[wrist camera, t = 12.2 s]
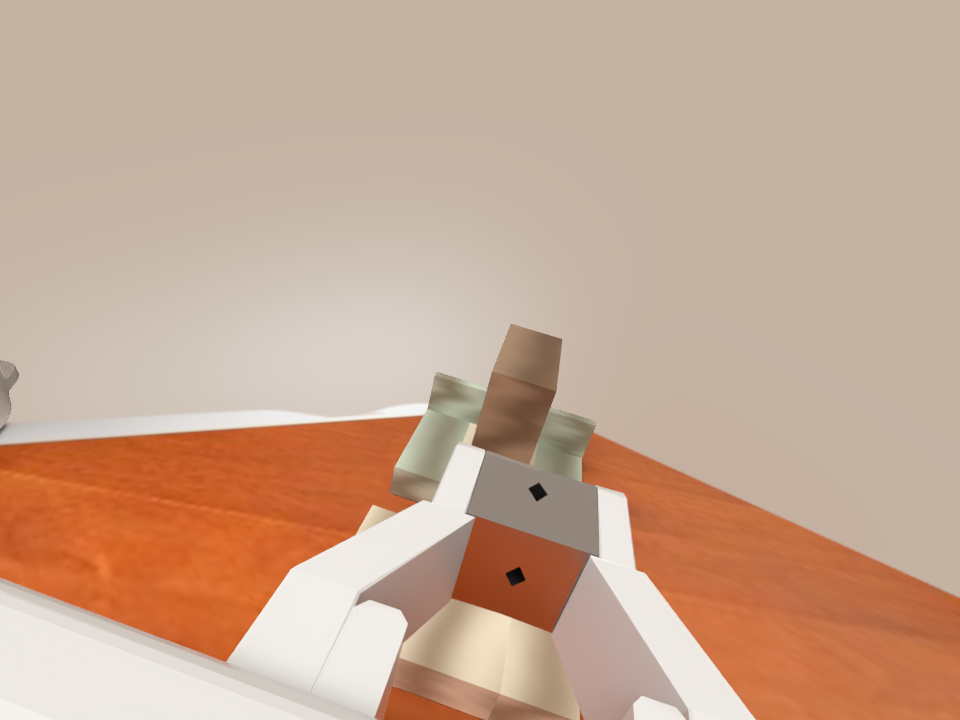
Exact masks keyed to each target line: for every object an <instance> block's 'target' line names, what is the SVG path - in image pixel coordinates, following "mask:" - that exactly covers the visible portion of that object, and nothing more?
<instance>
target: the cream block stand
mask: <svg viewBox="0 0 960 720" xmlns="http://www.w3.org/2000/svg"><path fill="white" fill-rule="evenodd" d="M486 392H487V387H484V386H481V385H477V384H474V383H471V382H468V381H464V380H461V379H458V378H455V377H452V376H448V375H445V374H442V373H439V372H437V373H436V375H435V377H434V382H433V387H432V391H431V396H430V401H429V405H428V409H427V411H426V413H425V415H424V416H423V418H422V420H421V422H420V423H419V425H418V427H417V429H416V430H415V432H414V434H413V436H412V437H411V439H410V441H409V443H408V444H407V446H406V448H405V450H404V451H403V453H402V455H401V457H400V458H399V460H398V462H397V464H396V465H395V467H394V473H393V478H392V483H391V489H390V493H391V494H394V495H397V496H400V497H403V498H406V499H409V500H412V501H415V502H420V501H422V500H425V501H428V502H431V503H432V500H433V498H434V496H435V493H436V491H437V489H438V486H439V484H440V482H441V479H442V477H443V475H444V472H445V470H446V468H447V465H448V463H449V461H450V458H451V456H452V454H453V451H454V449H455V447H456V445H457V444H458V443H459V441H460V442H463V443H466V444H469V445H472V441H473V438H474V434H475V431H476V427H477V424H478V420H479V417H480V413H481V410H482V406H483V403H484V399H485V395H486ZM595 427H596V421H593V420H590V419H587V418H583V417H580V416H577V415H574V414H571V413H567V412H564V411H561V410H558V409H554V408H551V407H550V410H549V412H548V415H547V418H546V420H545V423H544V426H543V429H542V431H541V434H540V437H539V439H538V442H537V445H536V448H535V450H534V453H533V456H532V458H531V461H530V464H529V465H532V466H534V467H537V468H540V469H542V470H545V471H548V472H552V473H555V474H558V475H561V476H564V477H568V478H571V479H574V480H577V481H580V482H582V457H583V454H584V452H585V450H586V447H587V445H588V443H589V441H590V438H591V436H592V434H593V431H594V429H595ZM395 514H397V513H395V512H392V511H389V510H386V509H383V508H380V507H377V506H374V505H372V507H371V509H370V511H369V512H368V514H367V516H366V518H365V519H364V521H363V523H362V525H361V526H360V528H359V530H358V532H357V533H356V535H357V534H359V533H361V532H363V531H364V530H366V529H368V528H370V527H372V526H374V525H376V524H378V523H380V522H382V521H384V520H386V519H388V518H389V517H391V516H393V515H395ZM551 635H552V633H550V632H548V631H545V630H542V629H540V628H537V627H534V626H532V625H529V624H526V623H524V622H521V621H518V620H516V619H513V618H511V617H508V616H505V615H503V614H500V613H497V612H494V611H490V610H487V609H484V608H481V607H478V606H474V605H471V604H468V603H465V602H462V601H459V600H455V599H452V598H451V599H450V602H449V603H447V604H446V605H445V606H444V607H443V608H442V609H441V610H440V611H439V612H437V613H436V614H435V615H434V616H433V617H432V618H431V619H430V620H429V621H427V622H426V623H425V624H424V625H423V626H422V627H421V628H420V629H418V630H417V631H416V632H415V633H414V634H413V635H412V636H411V637H410V638H408V639H407V640H406V641H405V642H404V643H403V645H402V649H401V653H400V657H399V661H398V665H397V669H396V673H395V677H394V681H393V685H392V686H393V687H396V688H399V689H402V690H404V691H407V692H410V693H412V694H415V695H418V696H421V697H423V698H426V699H429V700H432V701H434V702H437V703H440V704H443V705H445V706H448V707H451V708H453V709H456V710H459V711H462V712H464V713H467V714H470V715H473V716H475V717H478V718H481V719H484V720H580V708H579V705H578V703H577V700H576V698H575V695H574V693H573V690H572V688H571V685H570V683H569V680H568V677H567V675H566V672H565V670H564V667H563V665H562V662H561V660H560V657H559V655H558V652H557V650H556V647H555V645H554V642H553V639H552V637H551Z"/></svg>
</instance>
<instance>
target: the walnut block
mask: <svg viewBox="0 0 960 720" xmlns="http://www.w3.org/2000/svg"><path fill="white" fill-rule="evenodd" d="M561 345H562V339H559V338H556V337H553V336H550V335H546V334H543V333H540V332H536V331H533V330H530V329H526V328H523V327H520V326H516V325H513V324H511V325H510V328H509V330H508V333H507V336H506V339H505V341H504V343H503V346H502V348H501V351H500V353H499V356H498V358H497V361H496V363H495V366H494V368H493V371H492V374H491V378H490V381H489V385H488V388H487V392H486V395H485V399H484V403H483V406H482V410H481V413H480V417H479V420H478V424H477V427H476V431H475V434H474V438H473V441H472V446H475V447H478V448H481V449H484V450H485V451H487V450H488V451H491V452H493V453H496V454H499V455H502V456H505V457H508V458H511V459H514V460H517V461H520V462H523V463H526V464H530V461H531V458H532V456H533V453H534V450H535V448H536V445H537V442H538V439H539V437H540V434H541V431H542V429H543V426H544V423H545V420H546V418H547V415H548V412H549V410H550V407H551V404H552V401H553V398H554V396H555V393H556V389H557V380H558V372H559V363H560V354H561ZM485 454H486V452H485ZM484 457H485V456H484Z"/></svg>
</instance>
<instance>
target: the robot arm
mask: <svg viewBox="0 0 960 720" xmlns="http://www.w3.org/2000/svg"><path fill="white" fill-rule="evenodd" d="M18 377H19V374H18V371H17V369H16V367H15V365H14V364H12V363H9V362H5V361H0V428H1V427H2V426H3V425H4V423H5V422H6V421H7V419H8V417H9V415H10V411H11V402H10V398H9V390H10V389H11V387H12V386H13V385H14V383H15V382H16V381H17V379H18ZM485 452H486V454H485ZM484 456H485V457H484ZM451 598H452V599H455V600H459V601H462V602H465V603H468V604H471V605H474V606H478V607H481V608H484V609H487V610H490V611H494V612H497V613H500V614H503V615H505V616H508V617H511V618H513V619H516V620H518V621H521V622H524V623H526V624H529V625H532V626H534V627H537V628H540V629H542V630H545V631H548V632H550V633H552V635H551V637H552V639H553V642H554V645H555V647H556V650H557V652H558V655H559V657H560V660H561V662H562V665H563V667H564V670H565V672H566V675H567V677H568V680H569V683H570V685H571V688H572V690H573V693H574V695H575V698H576V700H577V703H578V705H579V708H580V710H581V713H582V715H583V718H584V720H756V719H755V718H754V717H753V716H752V714H751V713H750V712H749V710H748V709H747V708H746V706H745V705H744V704H743V702H742V701H741V700H740V698H739V697H738V696H737V694H736V693H735V692H734V690H733V689H732V688H731V686H730V685H729V684H728V682H727V681H726V680H725V678H724V677H723V676H722V674H721V673H720V672H719V670H718V669H717V668H716V666H715V665H714V664H713V662H712V661H711V660H710V658H709V657H708V656H707V654H706V653H705V652H704V651H703V649H702V648H701V647H700V645H699V644H698V643H697V641H696V640H695V639H694V637H693V636H692V635H691V633H690V632H689V631H688V629H687V628H686V627H685V625H684V624H683V623H682V621H681V620H680V619H679V617H678V616H677V615H676V613H675V612H674V611H673V609H672V608H671V607H670V605H669V604H668V603H667V601H666V600H665V599H664V597H663V596H662V595H661V593H660V592H659V591H658V589H657V588H656V587H655V585H654V584H653V583H652V582H651V580H650V579H649V578H648V576H647V575H646V574H645V573H643V572H640V571H637V570H636V565H635V557H634V550H633V542H632V534H631V527H630V519H629V511H628V503H627V497H626V496H625V495H624V493H621V492H617V491H614V490H611V489H607V488H604V487H600V486H597V485H595V486H593V485H590V484H587V483H584V482H580V481H577V480H574V479H571V478H568V477H564V476H561V475H558V474H555V473H552V472H548V471H545V470H542V469H540V468H537V467H534V466H532V465H529V464H526V463H523V462H520V461H517V460H514V459H511V458H508V457H505V456H502V455H499V454H496V453H493V452H491V451H488V450H487V451H485V450H484V449H481V448H478V447H475V446H472V445H469V444H466V443H463V442H460V441H459V443H458V444H457V445H456V447H455V449H454V451H453V454H452V456H451V458H450V461H449V463H448V465H447V468H446V470H445V472H444V475H443V477H442V479H441V482H440V484H439V486H438V489H437V491H436V493H435V496H434V498H433V500H432V503H431V502H428V501H425V500H422V501H420V502H418V503H416V504H414V505H413V506H411V507H409V508H407V509H405V510H403V511H401V512H399V513H397V514H395V515H393V516H391V517H389V518H388V519H386V520H384V521H382V522H380V523H378V524H376V525H374V526H372V527H370V528H368V529H366V530H364V531H363V532H361V533H359V534H357V535H355V536H353V537H351V538H349V539H347V540H345V541H343V542H341V543H340V544H338V545H336V546H334V547H332V548H330V549H328V550H326V551H324V552H322V553H320V554H318V555H316V556H315V557H313V558H311V559H309V560H307V561H305V562H303V563H301V564H299V565H297V566H295V567H293V568H292V569H291V570H290V571H289V573H288V574H287V576H286V577H285V579H284V580H283V582H282V583H281V584H280V586H279V587H278V589H277V590H276V592H275V593H274V594H273V596H272V597H271V599H270V600H269V602H268V603H267V604H266V606H265V607H264V609H263V610H262V612H261V613H260V614H259V616H258V617H257V619H256V620H255V622H254V623H253V624H252V626H251V627H250V629H249V630H248V632H247V633H246V634H245V636H244V637H243V639H242V640H241V642H240V643H239V644H238V646H237V647H236V649H235V650H234V652H233V653H232V654H231V656H230V657H229V659H228V660H227V662H224V661H222V660H219V659H216V658H213V657H211V656H208V655H205V654H203V653H200V652H197V651H195V650H192V649H189V648H187V647H184V646H181V645H179V644H176V643H173V642H171V641H168V640H165V639H163V638H160V637H157V636H155V635H152V634H149V633H147V632H144V631H141V630H139V629H136V628H133V627H131V626H128V625H125V624H123V623H120V622H117V621H115V620H112V619H109V618H107V617H104V616H101V615H99V614H96V613H93V612H91V611H88V610H85V609H83V608H80V607H77V606H75V605H72V604H69V603H67V602H64V601H61V600H59V599H56V598H53V597H51V596H48V595H45V594H43V593H40V592H37V591H35V590H32V589H29V588H27V587H24V586H21V585H19V584H16V583H13V582H11V581H8V580H5V579H3V578H0V720H384V716H385V712H386V708H387V704H388V700H389V696H390V693H391V689H392V685H393V681H394V677H395V673H396V669H397V665H398V661H399V657H400V653H401V649H402V645H403V643H404V642H405V641H406V640H407V639H408V638H410V637H411V636H412V635H413V634H414V633H415V632H416V631H417V630H418V629H420V628H421V627H422V626H423V625H424V624H425V623H426V622H427V621H429V620H430V619H431V618H432V617H433V616H434V615H435V614H436V613H437V612H439V611H440V610H441V609H442V608H443V607H444V606H445V605H446V604H447V603H449V602H450V599H451Z"/></svg>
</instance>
